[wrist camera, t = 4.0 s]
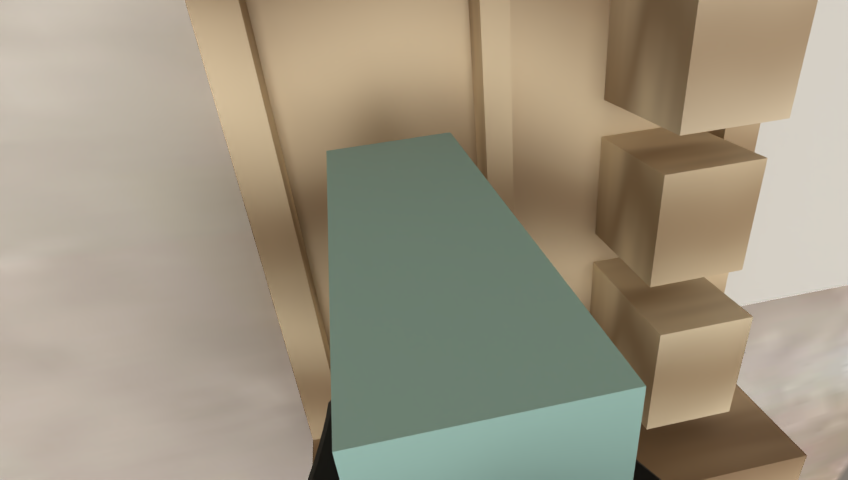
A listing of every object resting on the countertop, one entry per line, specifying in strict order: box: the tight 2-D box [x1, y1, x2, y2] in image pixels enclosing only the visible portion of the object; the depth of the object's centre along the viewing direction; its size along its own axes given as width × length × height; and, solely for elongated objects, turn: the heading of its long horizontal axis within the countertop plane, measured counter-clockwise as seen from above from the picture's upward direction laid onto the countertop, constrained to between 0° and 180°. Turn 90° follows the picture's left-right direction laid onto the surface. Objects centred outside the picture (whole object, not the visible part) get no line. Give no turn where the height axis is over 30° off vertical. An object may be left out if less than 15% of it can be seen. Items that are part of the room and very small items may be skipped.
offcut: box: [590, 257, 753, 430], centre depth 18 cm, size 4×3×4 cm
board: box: [326, 132, 646, 480], centre depth 9 cm, size 9×2×7 cm, turn 6°
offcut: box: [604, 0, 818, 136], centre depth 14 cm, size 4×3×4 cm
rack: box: [185, 0, 807, 480], centre depth 15 cm, size 18×16×7 cm
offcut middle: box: [595, 127, 768, 287], centre depth 16 cm, size 4×3×4 cm
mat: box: [724, 0, 848, 306], centre depth 19 cm, size 13×7×1 cm, turn 6°
